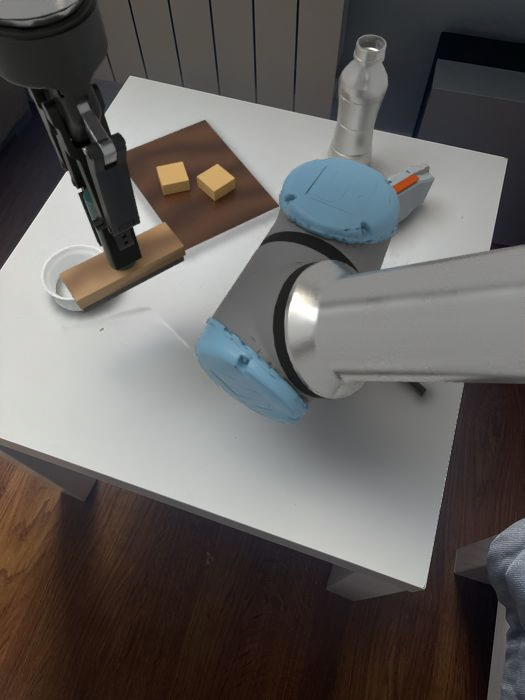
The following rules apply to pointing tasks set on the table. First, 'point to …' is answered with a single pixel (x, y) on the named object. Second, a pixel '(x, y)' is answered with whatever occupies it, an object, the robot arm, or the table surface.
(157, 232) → the brush
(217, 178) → the crumb
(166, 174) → the crumb
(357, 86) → the plastic bottle
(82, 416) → the table surface
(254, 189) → the brown wooden board
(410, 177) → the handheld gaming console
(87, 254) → the ramekin
